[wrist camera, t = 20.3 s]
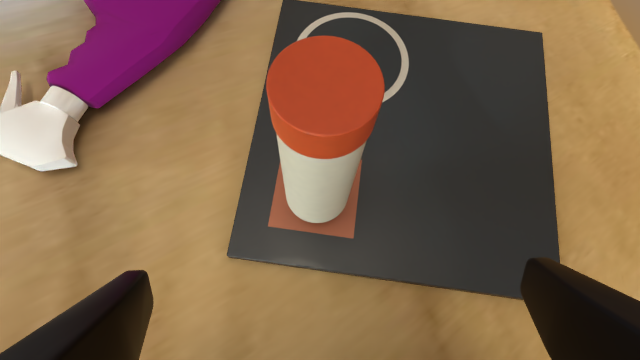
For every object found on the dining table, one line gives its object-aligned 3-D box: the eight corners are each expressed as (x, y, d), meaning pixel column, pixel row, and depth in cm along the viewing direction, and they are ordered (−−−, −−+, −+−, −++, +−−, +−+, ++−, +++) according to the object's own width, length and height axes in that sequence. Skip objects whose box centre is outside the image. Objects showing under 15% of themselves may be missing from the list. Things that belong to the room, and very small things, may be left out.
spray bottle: (273, -66, 32) (101, 201, 24) (155, -106, 33) (-46, 136, 25) (270, -103, 29) (74, 186, 21) (141, -145, 30) (-90, 114, 22)
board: (538, 38, 29) (543, 31, 29) (557, 304, 23) (564, 304, 22) (283, 4, 30) (283, -3, 29) (228, 257, 23) (226, 255, 22)
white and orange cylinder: (361, 203, 24) (409, 94, 13) (310, 241, 23) (313, 159, 12) (322, 156, 25) (336, 16, 14) (272, 191, 24) (242, 71, 13)
